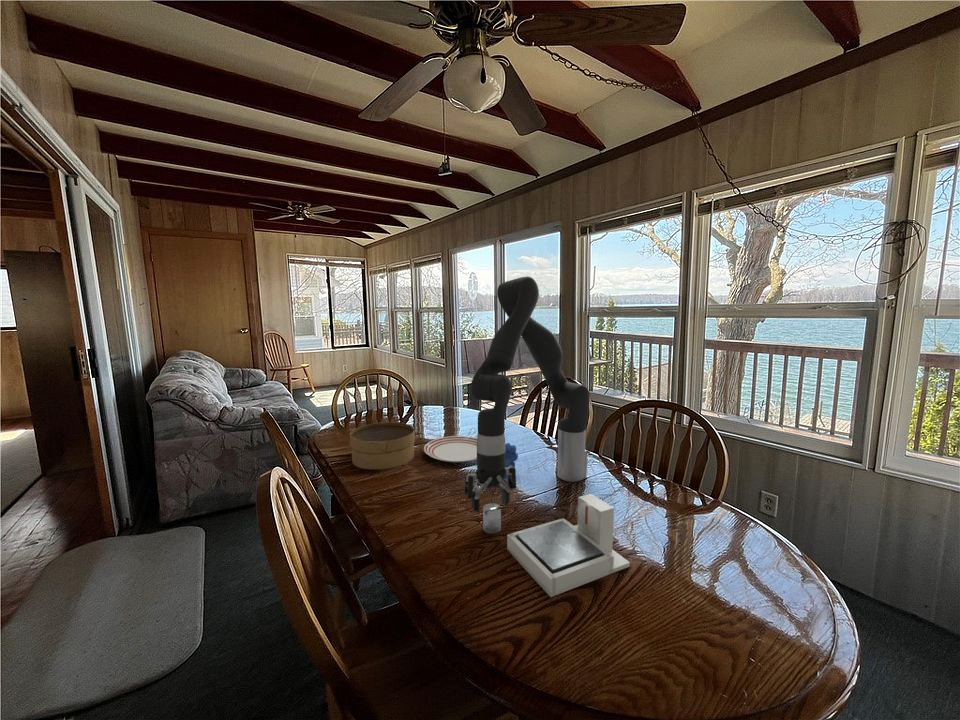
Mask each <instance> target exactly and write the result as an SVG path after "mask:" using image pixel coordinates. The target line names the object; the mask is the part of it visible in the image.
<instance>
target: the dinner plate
mask: <svg viewBox="0 0 960 720" xmlns="http://www.w3.org/2000/svg"><path fill="white" fill-rule="evenodd" d="M423 451H424V453H425V455H428V456H429V457H430V458H433V459H435V460H438V461H442V462H447V463H455V464H456V463H467V462H472V461H477V437H473V436H464V435H451V436H443V437H438V438H436V439H432V440H430V441H428V442H427V443H426V444H425V445H424V446H423Z"/></svg>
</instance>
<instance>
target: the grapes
mask: <svg viewBox="0 0 960 720" xmlns="http://www.w3.org/2000/svg"><path fill="white" fill-rule="evenodd" d="M505 445H506V447H505V468H506V467H507V466H508V465H511V466H512V467H514V468H515V467H516V461H517V460H518V457H519V454H518V453H517V446H516V445H511V443H509V442H507V443H505ZM515 469H516V468H515ZM506 477H507V478H508V474H505V476H504V477H503V478H506Z"/></svg>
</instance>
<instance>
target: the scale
mask: <svg viewBox="0 0 960 720" xmlns="http://www.w3.org/2000/svg"><path fill="white" fill-rule="evenodd" d="M577 498H578V499H577V512H576V513H577V524H575V525H573V524H572V523H571V522H570V521H568V520H566V519H565V518H559V519H555V520H553V521H549V522H545V523H542V524H538V525H535V526H532V527H529V528H524V529H522V530H519V531H518V530H517V531H515V532H511V533H508V534H507V535H506V537H507V538H506V540H507V542H506V548H507V549H506V550H507V551H508V552H509V553H510V555H512V557H513V558H514V559H515V560H516V561H517V562H518V563H519V564H520V566H522V568H523V569H524V570H525V571H526V572H527V573H528V574H529V575H530V576H531V578H533V579H534V581H535V582H536V583H537V584H538V585H539V586H540V587H541V588H542V590H543V591H544V592H545V593H546V594H547V595H548V596H549V598H553V597H555V596H558V595H560V594H562V593H565V592H568V591H571V590H573V589H576V588H578V587H580V586H584V585H585V584H589V583H591V582H593V581H595V580H599V579H601V578H604V577H607V576H608V575H612V574H614V573H616V572H620V571H621V570H625V569H627V568H629V567H630V566H631V562H630V561H629V560H627V559H626V558H625V557H623V556H622V555H621V554H619V553H618V552H616V551H615V550H614V549H613V541H614V540H613V539H614V517H615V508H614V507H613V506H612V505H610V504H608V503H607V502H605V501H604V500H602V499H601V498H598V497H597V496H596V495H593V494H592V493H589V494H585V495H581V496H578V497H577ZM560 521H563V522H564V523H566V524H567V525H568V526H570V527H571V528H572V529H574V530H575V531H576V532H577V533H579V534H580V535H581V536H583V537H584V538H585V539H587V540H588V541H589V542H590V543H592V544H593V545H594V546H596V547H597V548H598V549H600V550H601V551H602V552H603V556H601V557H598V558H596V559H593V560H590V561H587V562H585V563H582V564H579V565H576V566H573V567H571V568H568V569H565V570H562V571H560V572H557V573H554V574H552V573H551V572H550V571H549V570H548V569H547V568H546V567H545V566H544V565H543V564H542V563H541V562H540V561H539V560H538V559H537V558H536V557H535V556H534V555H533V554H532V553H531V552H530V551H529V550H528V549H527V548H526V547H525V546H524V545H523V544H522V543H521V542H520V541H519V540H518V539H517V534H519V533H523V532H526V531H529V530H533V529H536V528H540V527H543V526H547V525H550V524H553V523H557V522H560Z"/></svg>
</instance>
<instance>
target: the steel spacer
mask: <svg viewBox="0 0 960 720" xmlns="http://www.w3.org/2000/svg"><path fill="white" fill-rule="evenodd" d="M482 530H483V532H484V533H486V534H493V535H494V534H498V533H500V532H501V531H502V507H501V505H500V504H498V503H493V502H492V503H486V504H484V505H483V506H482Z"/></svg>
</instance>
